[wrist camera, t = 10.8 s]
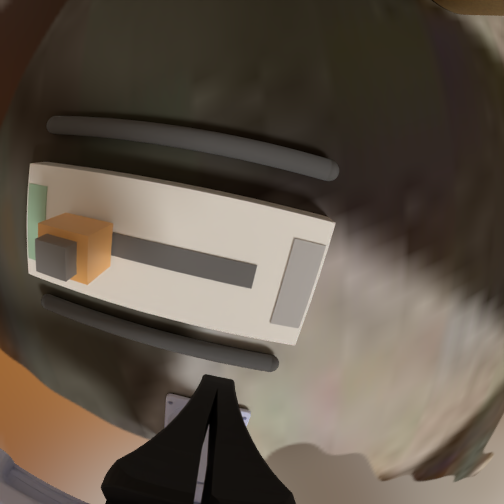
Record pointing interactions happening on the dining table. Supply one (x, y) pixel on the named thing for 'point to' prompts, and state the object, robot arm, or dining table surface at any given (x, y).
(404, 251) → the dining table surface
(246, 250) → the white slider switch panel
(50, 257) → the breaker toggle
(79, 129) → the dressed cords
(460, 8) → the plant pot
